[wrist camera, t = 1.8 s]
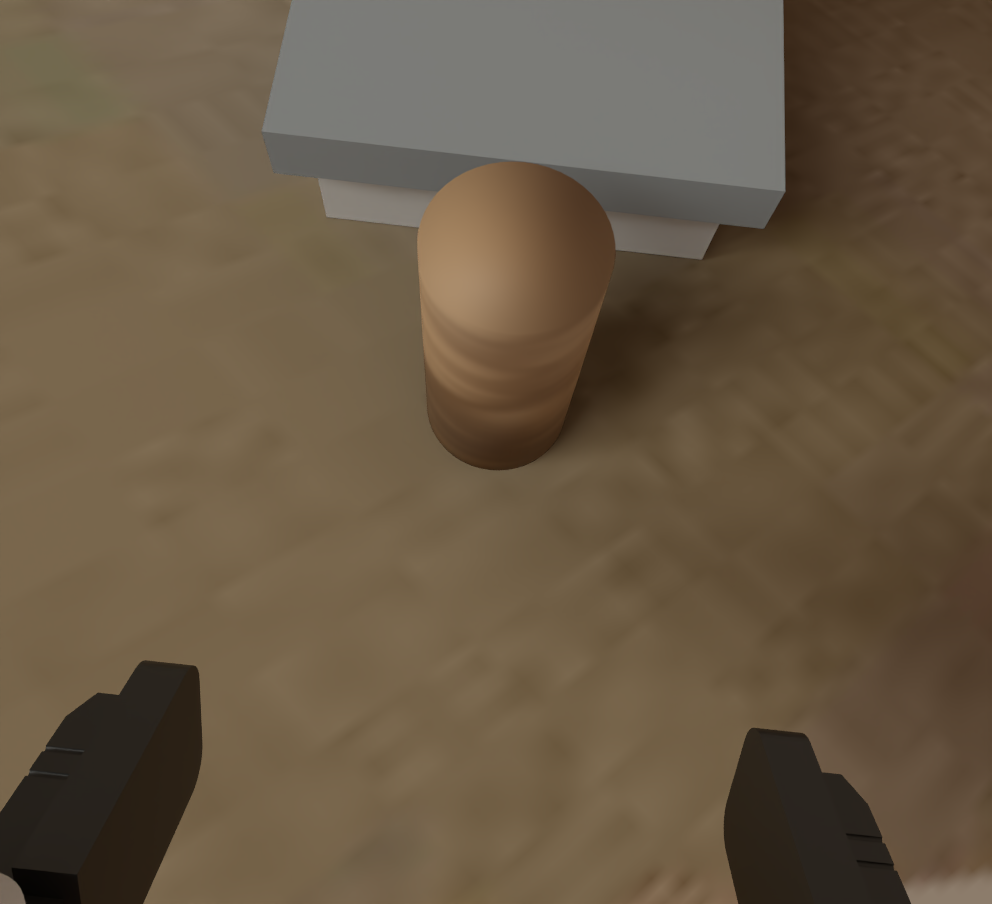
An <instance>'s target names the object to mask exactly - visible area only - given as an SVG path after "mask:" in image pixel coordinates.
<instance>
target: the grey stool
mask: <svg viewBox="0 0 992 904" xmlns="http://www.w3.org/2000/svg"><path fill="white" fill-rule="evenodd" d="M262 134H263V138H264V141H265V144H266V148H267V151H268V155H269V158H270V161H271V165H272V168H273V172H274V173H279V174H287V175H296V176H305V177H314V178H318V180H319V185H320V189H321V194H322V198H323V203H324V207H325V212H326V216H327V217H331V218H340V219H349V220H358V221H366V222H375V223H384V224H393V225H401V226H410V227H419V226H420V222H421V219H422V217H423V214H424V212H425V210H426V208H427V207H428V205H429V203H430V202H431V200H432V199H433V198H434V196H435V195H436V194H437V193H438V192H439V191H440V190H441V189H442V188H443V187H444V186H445V185H446V184H447V183H449V182H450V181H452V180H453V179H454V178H456V177H458V176H459V175H461V174H463V173H465V172H467V171H469V170H472V169H474V168H476V167H480V166H483V165H487V164H492V163H498V162H527V163H533V164H539V165H542V166H546V167H549V168H552V169H554V170H557V171H559V172H562V173H563V174H565V175H567V176H569V177H571V178H573V179H574V180H575V181H577V182H578V183H580V184H581V185H582V186H583V187H585V188H586V189H587V190H588V191H589V192H590V193H591V194H592V195H593V196H594V197H595V198H596V200H597V201H598V202H599V203H600V205H601V206H602V208H603V209H604V211H605V213H606V215H607V217H608V219H609V221H610V223H611V226H612V230H613V233H614V239H615V248H616V250H621V251H630V252H639V253H647V254H656V255H665V256H674V257H683V258H691V259H700V260H702V258H703V256H704V254H705V252H706V250H707V248H708V246H709V244H710V242H711V240H712V238H713V236H714V234H715V232H716V230H717V228H718V226H719V224H725V225H734V226H742V227H751V228H760V229H764V228H765V226H766V224H767V223H768V221H769V219H770V217H771V216H772V214H773V212H774V210H775V209H776V207H777V205H778V203H779V202H780V200H781V198H782V197H783V195H784V193H785V112H784V22H783V0H292V2H291V7H290V11H289V15H288V20H287V24H286V28H285V33H284V37H283V41H282V46H281V50H280V54H279V59H278V63H277V67H276V72H275V76H274V80H273V85H272V89H271V93H270V98H269V102H268V106H267V111H266V115H265V119H264V124H263V128H262Z"/></svg>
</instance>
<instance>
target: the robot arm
mask: <svg viewBox="0 0 992 904" xmlns="http://www.w3.org/2000/svg"><path fill="white" fill-rule="evenodd" d="M201 758H202V726H201V703H200V681H199V672H198V669H197V667H196V666H192V665H183V664H174V663H164V662H155V661H146V660H145V661H142V662H141V663H140V664H139V665H138V666H137V667H136V669H135V670H134V672H133V673H132V675H131V677H130V678H129V680H128V681H127V683H126V685H125V686H124V688H123V689H122V691H121V693H120V694H119V695H114V694H105V693H97V694H96V695H94V696H93V697H91V698H90V699H89V700H87V701H86V702H85V703H83V704H82V705H81V706H79V707H78V708H77V709H75V710H74V711H73V712H71V713H70V714H69V715H67V716H66V717H65V719H64V720H63V721H62V723H61V724H60V726H59V727H58V729H57V730H56V732H55V733H54V735H53V736H52V738H51V739H50V741H49V742H48V743H47V745H46V749H45V751H44V752H43V751H42V752H41V754H40V755H39V757H38V758H37V760H36V761H35V762H34V764H33V765H32V767H31V768H30V772H29V775H28V776H25V777H24V779H23V780H22V782H21V783H20V784H19V786H18V787H17V789H16V790H15V792H14V793H13V795H12V796H11V798H10V799H9V801H8V802H7V804H6V805H5V806H4V808H3V809H2V811H1V812H0V904H143V902H144V900H145V898H146V896H147V894H148V891H149V889H150V887H151V885H152V882H153V880H154V878H155V876H156V873H157V871H158V869H159V867H160V864H161V862H162V860H163V858H164V856H165V853H166V851H167V849H168V847H169V844H170V842H171V840H172V838H173V835H174V833H175V831H176V829H177V826H178V824H179V822H180V820H181V818H182V815H183V813H184V811H185V809H186V806H187V804H188V802H189V800H190V797H191V795H192V793H193V790H194V788H195V785H196V782H197V778H198V774H199V770H200V765H201ZM724 841H725V848H726V853H727V858H728V862H729V866H730V870H731V874H732V879H733V883H734V887H735V891H736V896H737V900H738V904H911V902H910V900H909V898H908V895H907V893H906V891H905V888H904V886H903V884H902V882H901V879H900V877H899V875H898V872H897V871H894V867H893V866H894V863H893V861H892V859H891V856H890V854H889V852H888V849H887V847H886V845H885V844H884V843H882V836H881V833H880V831H879V829H878V826H877V824H876V822H875V819H874V817H873V815H872V813H871V810H870V808H869V806H868V804H867V803H866V802H865V801H864V799H863V798H862V797H861V796H860V795H859V794H858V793H857V792H856V790H855V789H854V788H853V787H852V786H851V785H850V784H849V783H848V782H847V780H846V779H845V778H844V777H843V776H842V775H841V774H832V773H822V772H821V769H820V766H819V764H818V761H817V759H816V756H815V754H814V751H813V748H812V746H811V743H810V741H809V739H808V738H807V736H806V735H805V734H803V733H797V732H787V731H778V730H769V729H760V728H751V729H750V730H749V731H748V733H747V735H746V738H745V741H744V744H743V748H742V751H741V755H740V758H739V762H738V765H737V769H736V772H735V775H734V779H733V782H732V786H731V789H730V793H729V796H728V800H727V803H726V808H725V815H724Z"/></svg>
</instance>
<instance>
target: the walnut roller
mask: <svg viewBox="0 0 992 904" xmlns="http://www.w3.org/2000/svg"><path fill="white" fill-rule="evenodd" d="M417 252H418V268H419V284H420V300H421V316H422V332H423V348H424V364H425V380H426V396H427V411H428V417H429V422H430V424H431V427H432V430H433V432H434V434H435V435H436V437H437V439H438V440H439V441H440V443H441V444H442V445H443V446H444V447H445V449H446V450H447V451H448V452H450V453H451V454H452V455H453V456H455V457H456V458H458V459H459V460H461V461H463V462H465V463H467V464H469V465H471V466H475V467H478V468H482V469H488V470H508V469H513V468H518V467H521V466H524V465H526V464H528V463H530V462H532V461H534V460H536V459H537V458H539V457H540V456H542V455H543V454H544V453H545V452H546V451H547V450H548V449H549V448H550V447H551V446H552V445H553V444H554V442H555V441H556V439H557V437H558V436H559V434H560V431H561V429H562V427H563V423H564V420H565V417H566V414H567V411H568V408H569V405H570V402H571V399H572V396H573V393H574V390H575V386H576V383H577V380H578V377H579V374H580V371H581V368H582V365H583V362H584V359H585V356H586V352H587V349H588V346H589V343H590V340H591V337H592V334H593V331H594V328H595V325H596V322H597V319H598V315H599V312H600V309H601V306H602V303H603V300H604V297H605V294H606V291H607V288H608V285H609V282H610V278H611V275H612V272H613V269H614V263H615V256H616V248H615V239H614V233H613V230H612V226H611V223H610V221H609V219H608V217H607V215H606V213H605V211H604V209H603V208H602V206H601V205H600V203H599V202H598V201H597V200H596V198H595V197H594V196H593V195H592V194H591V193H590V192H589V191H588V190H587V189H586V188H585V187H583V186H582V185H581V184H580V183H578V182H577V181H575V180H574V179H573V178H571V177H569V176H567V175H565V174H563V173H562V172H559V171H557V170H554V169H552V168H549V167H546V166H542V165H539V164H533V163H527V162H498V163H492V164H487V165H483V166H480V167H476V168H474V169H472V170H469V171H467V172H465V173H463V174H461V175H459V176H458V177H456V178H454V179H453V180H452V181H450V182H449V183H447V184H446V185H445V186H444V187H443V188H442V189H441V190H440V191H439V192H438V193H437V194H436V195H435V196H434V198H433V199H432V200H431V202H430V203H429V205H428V207H427V208H426V210H425V212H424V214H423V217H422V219H421V222H420V226H419V231H418V238H417Z"/></svg>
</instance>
